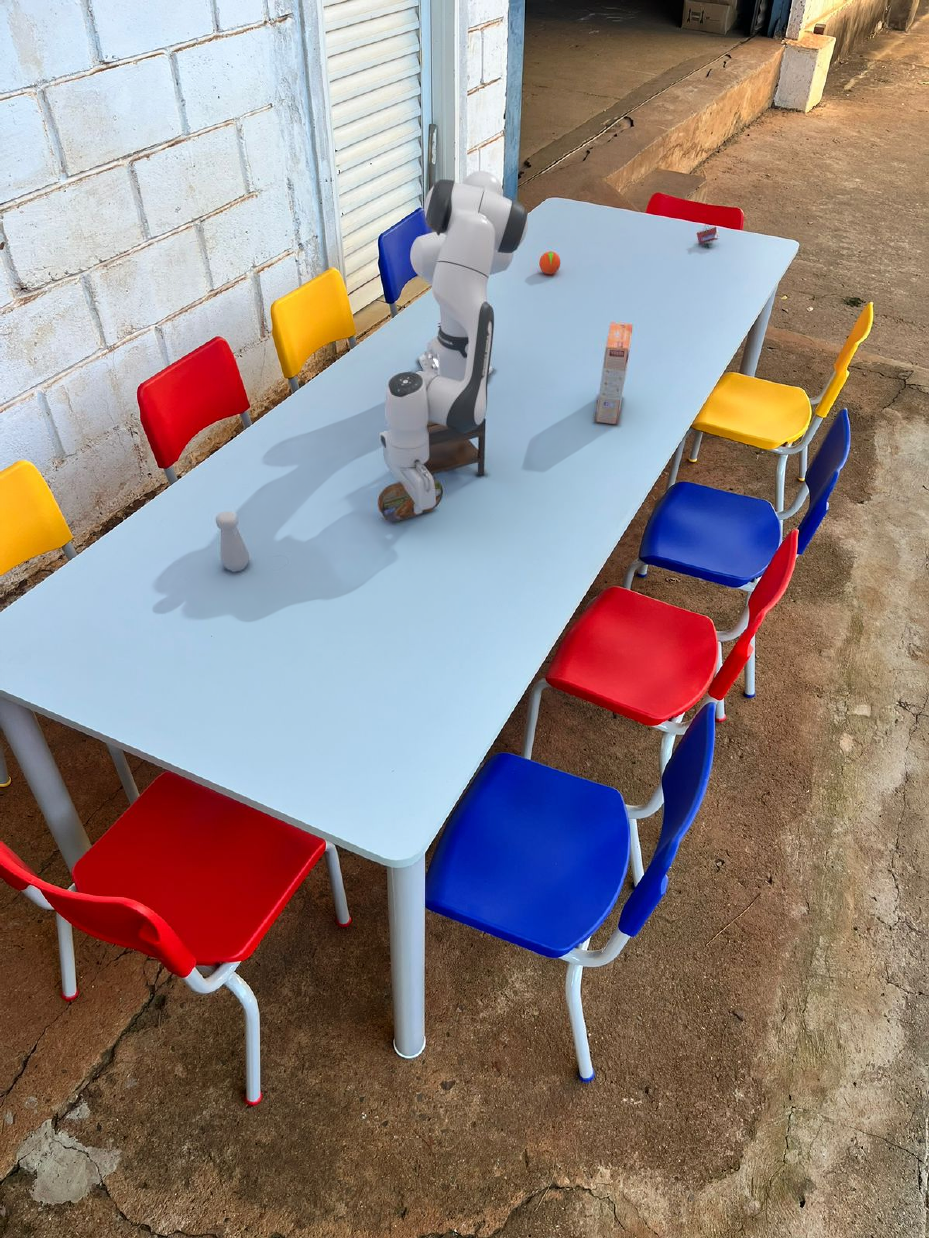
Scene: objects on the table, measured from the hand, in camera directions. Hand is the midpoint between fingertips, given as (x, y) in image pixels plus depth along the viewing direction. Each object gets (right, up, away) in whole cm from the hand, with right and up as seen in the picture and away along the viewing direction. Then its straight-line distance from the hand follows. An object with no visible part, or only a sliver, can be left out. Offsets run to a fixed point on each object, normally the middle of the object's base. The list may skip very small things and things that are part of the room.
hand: (410, 502), depth 198 cm
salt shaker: (-35, -15, -12) cm, 40 cm away
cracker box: (+49, +28, +34) cm, 67 cm away
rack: (+6, +9, +14) cm, 18 cm away
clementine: (+40, +87, +96) cm, 136 cm away
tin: (0, -2, +2) cm, 3 cm away
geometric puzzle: (+96, +105, +115) cm, 183 cm away
